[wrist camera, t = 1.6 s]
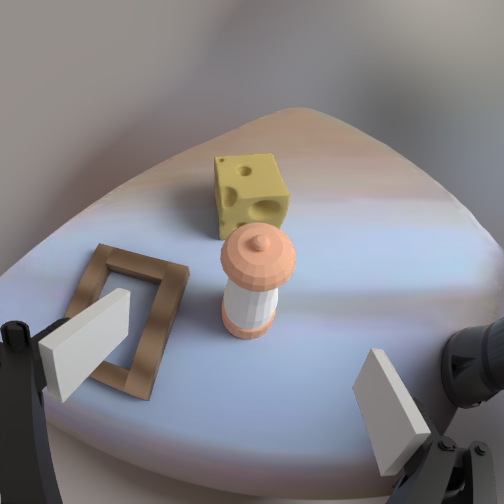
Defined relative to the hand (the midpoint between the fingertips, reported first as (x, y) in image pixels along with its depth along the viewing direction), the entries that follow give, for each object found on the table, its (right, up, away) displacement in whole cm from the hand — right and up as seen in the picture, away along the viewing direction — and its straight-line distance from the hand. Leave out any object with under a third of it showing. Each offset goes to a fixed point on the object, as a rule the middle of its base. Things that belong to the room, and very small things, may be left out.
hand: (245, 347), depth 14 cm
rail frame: (-19, -5, +24) cm, 31 cm away
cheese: (-1, +11, +37) cm, 39 cm away
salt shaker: (0, -4, +27) cm, 27 cm away
